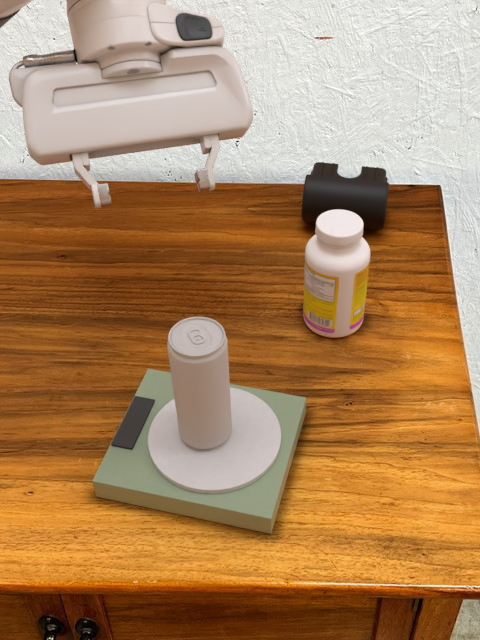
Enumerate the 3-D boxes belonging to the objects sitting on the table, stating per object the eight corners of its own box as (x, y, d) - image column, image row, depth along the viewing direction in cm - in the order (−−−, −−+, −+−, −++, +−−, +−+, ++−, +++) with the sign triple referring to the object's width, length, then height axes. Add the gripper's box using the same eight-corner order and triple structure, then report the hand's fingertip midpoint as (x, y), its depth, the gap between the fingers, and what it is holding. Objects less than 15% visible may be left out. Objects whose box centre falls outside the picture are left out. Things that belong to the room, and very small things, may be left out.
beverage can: (189, 460, 68) (177, 364, 59) (171, 421, 71) (158, 324, 62) (240, 442, 69) (236, 346, 61) (220, 405, 72) (214, 308, 64)
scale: (96, 496, 69) (90, 476, 66) (150, 384, 78) (147, 363, 76) (271, 534, 66) (271, 514, 64) (305, 413, 76) (306, 393, 73)
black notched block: (300, 235, 96) (302, 188, 91) (308, 203, 100) (310, 156, 96) (381, 244, 95) (387, 196, 90) (385, 211, 99) (391, 164, 95)
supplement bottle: (355, 296, 88) (365, 200, 78) (369, 336, 83) (382, 239, 74) (297, 303, 87) (300, 206, 78) (308, 343, 82) (313, 245, 73)
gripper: (-1, 42, 64) (35, 209, 65) (239, 17, 68) (270, 173, 69) (8, 71, 70) (40, 223, 71) (227, 46, 75) (256, 189, 75)
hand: (156, 198), depth 70 cm, fingers open, 8 cm apart
